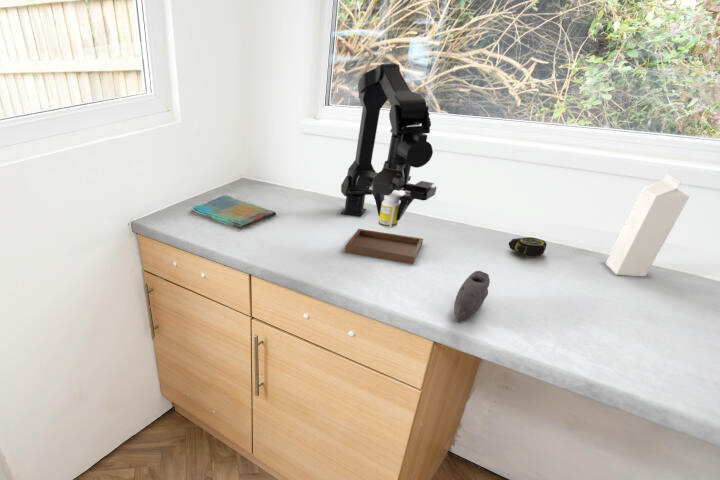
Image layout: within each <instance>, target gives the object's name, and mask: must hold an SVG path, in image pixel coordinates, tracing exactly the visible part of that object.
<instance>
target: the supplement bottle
mask: <svg viewBox="0 0 720 480" xmlns="http://www.w3.org/2000/svg"><path fill="white" fill-rule="evenodd" d="M401 196H402V193H401V192H400V191H395V190H394V191H393V192H392V193H391V194H390V195H385V196H384V200H383V201H382V205H381V211H380V216H378V217H379V218H378V226H379V227H380V228H383V229H394V228H397V227H398V224H399V220H398V221H397V214H398V210H399V206H400V202H401V201H400V197H401Z"/></svg>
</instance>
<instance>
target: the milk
mask: <svg viewBox="0 0 720 480" xmlns="http://www.w3.org/2000/svg"><path fill="white" fill-rule="evenodd" d="M681 181H682V180H680V179H678V178H676V177H674V176H673V175H670V174H669V173H664V175H663V178H662V179H660V180H658V181H656V182H654V183H651V184H648V185H646V186H643V187H642V189H641V190H640V192H639V195H638V197H637V199H636V200H635V203H634V205H633V207H632V209H631V211H630V213H629V215H628V217H627V219H626V221H625V223H624V225H623V228H622V230H621V232H620V234H619V235H618V237H617V239H616V241H615V244H614V246H613V248H612V249H611V252H610V254H609V255H608V258H607V261H606V262H605V264H606V266H607V267H608V268H609V269H610V270H611V271H612V272H613V273H614V274H615V275H616V276H629V277H646V276H647V275H648V273H649V271H650V269H651V267H652V266H653V264H654V262H655V260H656V258H657V256H659V255H658V254H660V253H659V252H660V251H661V249H662V247H663V246H664V243H665V242H666V240H667V238H668V237H669V235H670V233H671V231H672V229H673V228H674V226H675V224H676V222H677V220H678V219H679V216H680V214H681V213H682V212H683V209H684V207H685V205H686V204H687V202H688V200H689V198H690V196H689V195H688V194H686V193H684V192H683V191H682V190H680V189H679V187H680V185H681V183H682V182H681Z"/></svg>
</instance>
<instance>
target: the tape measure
mask: <svg viewBox="0 0 720 480" xmlns="http://www.w3.org/2000/svg"><path fill="white" fill-rule="evenodd" d="M508 246H509V249H510V250H511V251H514V252H515V253H516V254H518V255H520V256H524V257H528V258H530V257H531V258H535V257H541V256H543V254H544V253H545V251H546V249H547V242H546V241H545V240H543V239H540V238H537V237H529V236H528V237H519V238H512V239H511V240H509V241H508Z"/></svg>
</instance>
